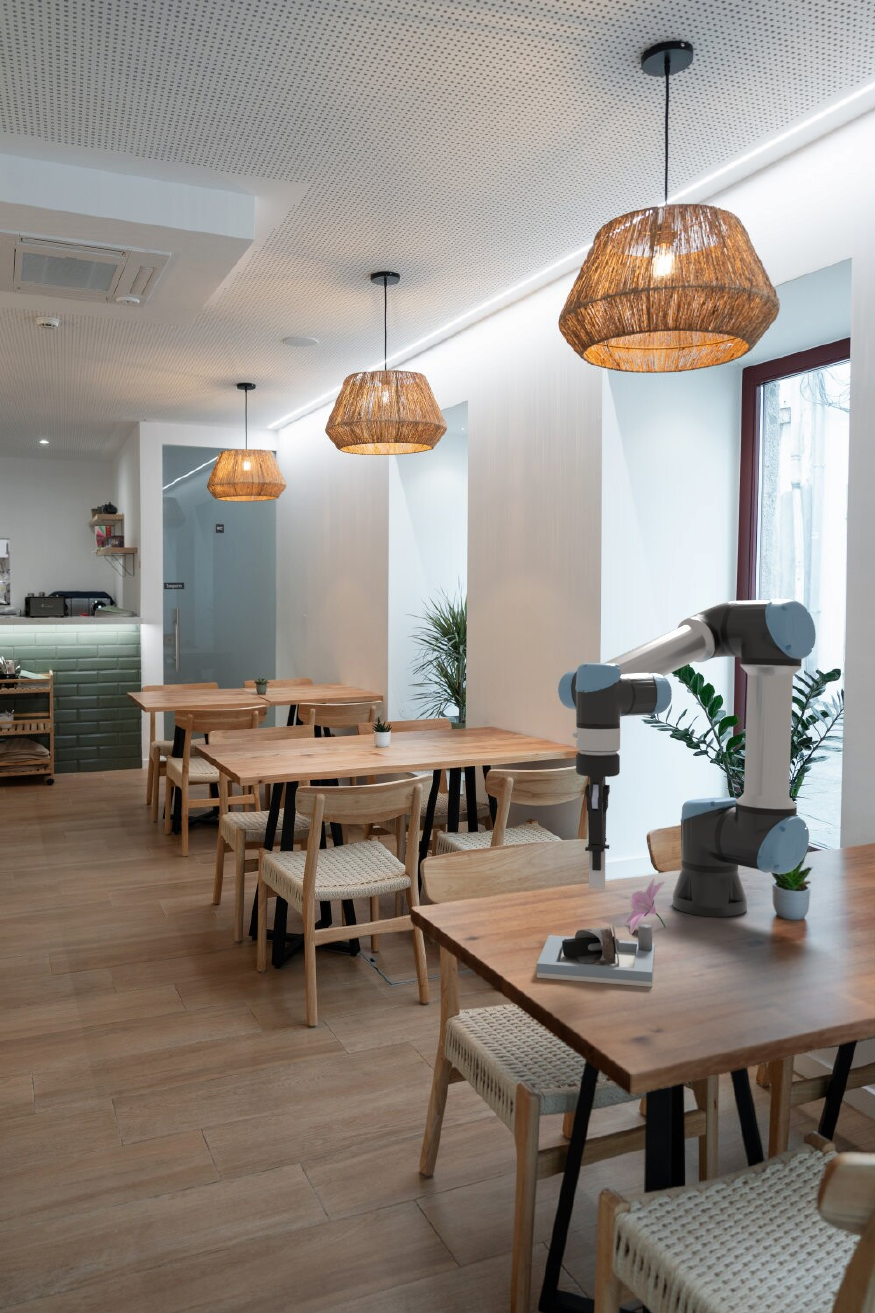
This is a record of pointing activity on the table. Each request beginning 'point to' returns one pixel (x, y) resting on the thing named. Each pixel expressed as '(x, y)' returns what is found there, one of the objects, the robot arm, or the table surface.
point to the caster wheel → (593, 946)
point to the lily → (643, 904)
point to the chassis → (631, 969)
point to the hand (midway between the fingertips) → (597, 887)
